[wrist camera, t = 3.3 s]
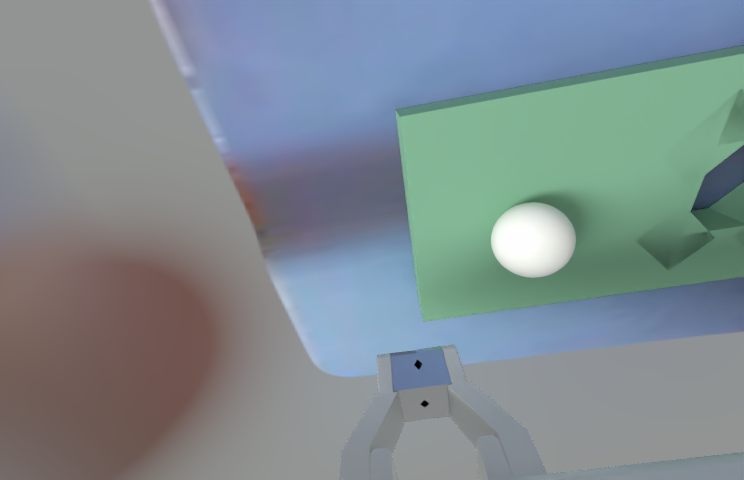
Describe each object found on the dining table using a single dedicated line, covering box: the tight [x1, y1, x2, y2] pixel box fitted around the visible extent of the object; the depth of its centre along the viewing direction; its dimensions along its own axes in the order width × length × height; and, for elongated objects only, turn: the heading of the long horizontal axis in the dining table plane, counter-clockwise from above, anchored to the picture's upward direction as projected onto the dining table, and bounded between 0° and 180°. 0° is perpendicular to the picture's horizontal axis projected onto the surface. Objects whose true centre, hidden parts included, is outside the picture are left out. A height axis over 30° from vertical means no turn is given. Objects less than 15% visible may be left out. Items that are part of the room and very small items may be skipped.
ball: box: [491, 202, 576, 278], centre depth 16 cm, size 4×4×4 cm
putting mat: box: [395, 45, 744, 322], centre depth 19 cm, size 14×26×2 cm, turn 100°
